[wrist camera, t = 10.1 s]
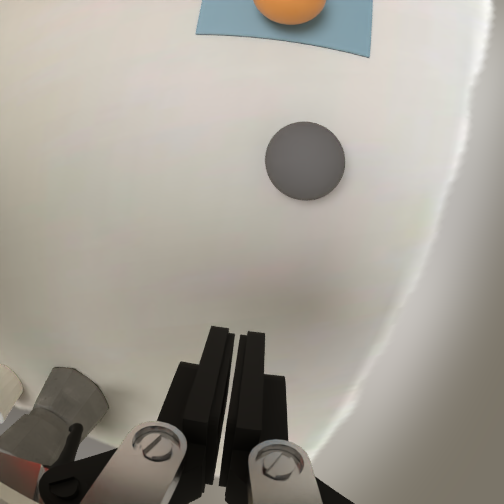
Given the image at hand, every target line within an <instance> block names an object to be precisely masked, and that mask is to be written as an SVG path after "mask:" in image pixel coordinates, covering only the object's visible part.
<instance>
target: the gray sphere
mask: <svg viewBox="0 0 504 504" xmlns="http://www.w3.org/2000/svg"><path fill="white" fill-rule="evenodd" d="M265 164H266V169H267V173H268V176H269V178H270V180H271V181H272V183H273V184H274V185H275V187H276V188H277V189H278V190H279V191H281V192H282V193H283V194H285V195H287V196H289V197H291V198H294V199H298V200H314V199H318V198H321V197H323V196H325V195H327V194H328V193H330V192H331V191H332V190H333V189H334V188H335V187H336V186H337V185H338V183H339V182H340V180H341V178H342V176H343V173H344V168H345V156H344V151H343V148H342V146H341V144H340V142H339V140H338V139H337V138H336V136H335V135H334V134H333V133H332V132H331V131H329V130H328V129H327V128H325V127H323V126H321V125H319V124H316V123H312V122H297V123H293V124H290V125H287V126H285V127H284V128H282V129H281V130H279V131H278V132H277V133H276V134H275V135H274V136H273V138H272V139H271V141H270V143H269V145H268V147H267V151H266V156H265Z"/></svg>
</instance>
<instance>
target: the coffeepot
mask: <svg viewBox="0 0 504 504" xmlns="http://www.w3.org/2000/svg"><path fill="white" fill-rule="evenodd" d="M108 408H109V407H108V405H107V402H106V399H105V397H104V395H103V394H102V392H101V390H100V389H99V388H98V387H97V386H96V385H95V384H94V383H93V382H92V381H91V380H90V379H89V378H87V377H86V376H85V375H83V374H82V373H80V372H78V371H76V370H74V369H71V368H66V367H60V368H53V369H52V371H51V373H50V375H49V377H48V379H47V381H46V383H45V384H44V386H43V388H42V390H41V392H40V394H39V396H38V398H37V400H36V402H35V404H34V407H33V410H32V411H31V412H30V414H29V415H28V414H25V415H23V416H22V417H21V418H20V419H19V420H18V421H16V422H15V423H14V424H13V425H12V426H11V427H10V428H9V429H8V430H6V431H5V432H4V433H3V434H2V435H1V436H0V452H2V453H5V454H8V455H11V456H15V457H18V458H21V459H25V460H28V461H32V462H36V463H39V464H42V466H43V467H44V468H48V469H51V468H53V467H56V466H59V465H63V464H67V463H70V462H74V459H75V456H76V452H77V449H78V447H79V444H80V443H81V442H82V441H83V440H84V438H85V437H86V436H87V435H88V434H89V433H90V432H91V430H92V429H93V428H94V427H95V426H96V425H97V424H98V423H99V421H100V420H101V419H102V417H103V416H104V414H105V413H106V411H107V410H108Z"/></svg>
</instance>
